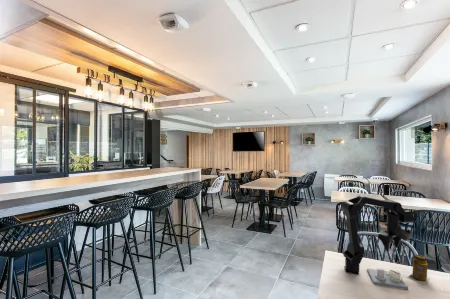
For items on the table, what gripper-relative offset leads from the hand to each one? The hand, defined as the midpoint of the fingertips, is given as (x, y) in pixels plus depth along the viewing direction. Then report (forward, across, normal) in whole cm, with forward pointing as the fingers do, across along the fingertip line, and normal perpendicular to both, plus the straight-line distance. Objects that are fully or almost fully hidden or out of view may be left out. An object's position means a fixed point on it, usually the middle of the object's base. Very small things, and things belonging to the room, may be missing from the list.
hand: (392, 249), depth 134 cm
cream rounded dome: (+11, -9, -6) cm, 15 cm away
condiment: (+12, +4, -11) cm, 17 cm away
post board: (+12, -12, -4) cm, 18 cm away
